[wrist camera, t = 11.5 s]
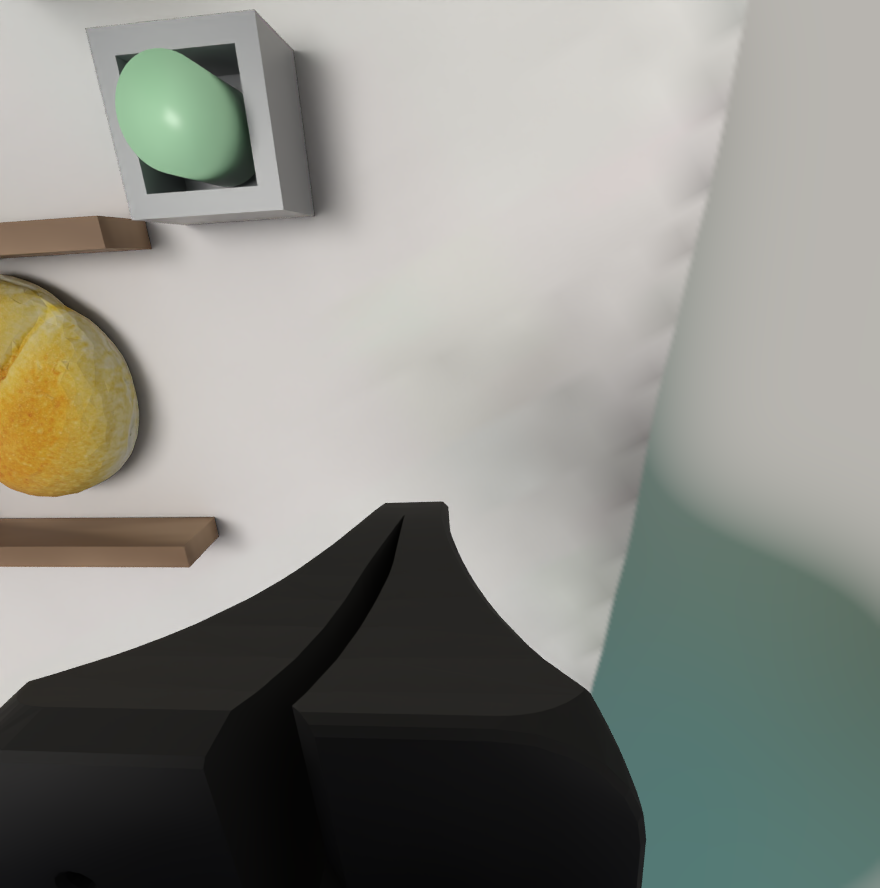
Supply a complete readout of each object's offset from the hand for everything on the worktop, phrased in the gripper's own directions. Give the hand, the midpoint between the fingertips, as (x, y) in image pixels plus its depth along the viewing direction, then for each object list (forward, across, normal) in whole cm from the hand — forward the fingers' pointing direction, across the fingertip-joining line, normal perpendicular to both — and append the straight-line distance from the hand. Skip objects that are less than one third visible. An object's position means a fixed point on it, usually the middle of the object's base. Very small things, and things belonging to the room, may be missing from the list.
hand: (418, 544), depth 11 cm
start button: (+9, +7, -10) cm, 15 cm away
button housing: (+10, +7, -10) cm, 16 cm away
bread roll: (+11, +18, -2) cm, 21 cm away
